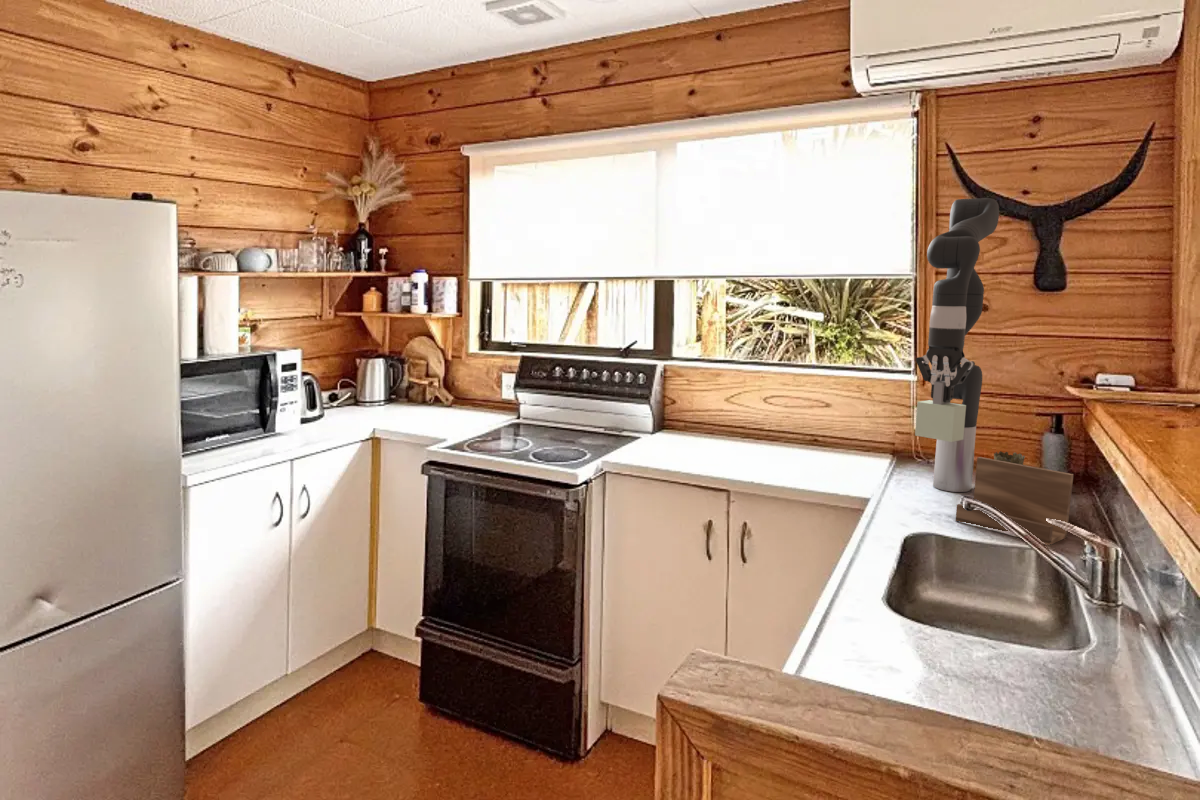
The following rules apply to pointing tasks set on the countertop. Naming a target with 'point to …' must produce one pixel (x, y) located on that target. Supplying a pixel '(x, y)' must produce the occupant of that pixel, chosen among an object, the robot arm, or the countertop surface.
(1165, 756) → the countertop surface
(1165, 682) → the countertop surface
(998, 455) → the grey-green lumpy piece
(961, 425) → the tab block
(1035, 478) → the wooden tablet stand
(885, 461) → the countertop surface
